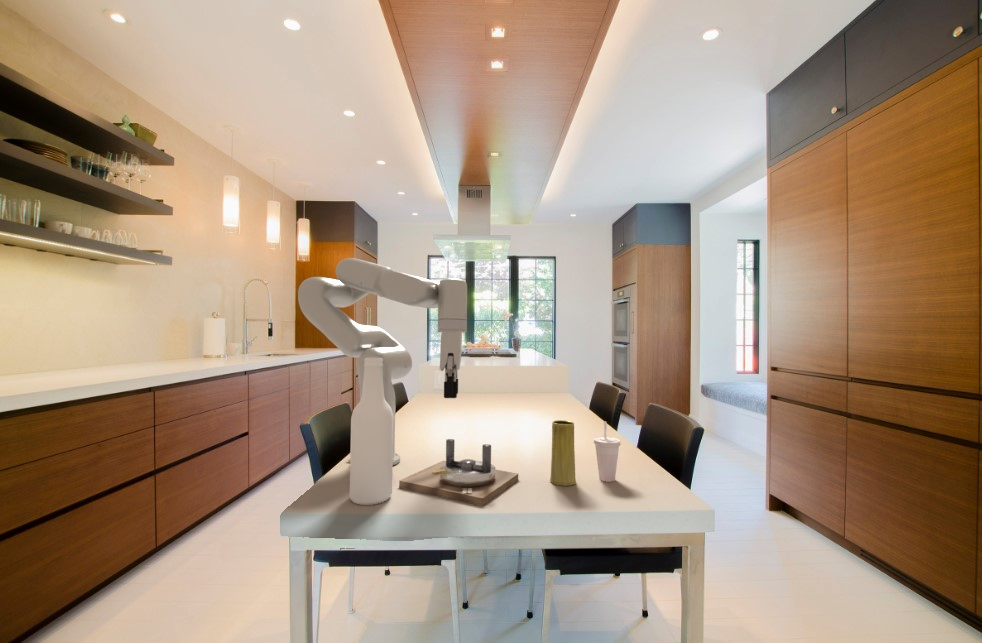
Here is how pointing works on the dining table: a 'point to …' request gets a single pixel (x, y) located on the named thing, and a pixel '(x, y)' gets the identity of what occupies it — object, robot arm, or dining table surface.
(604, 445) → the smoothie
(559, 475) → the vase
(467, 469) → the dial
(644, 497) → the dining table surface
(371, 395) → the alcohol
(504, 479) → the stand board
